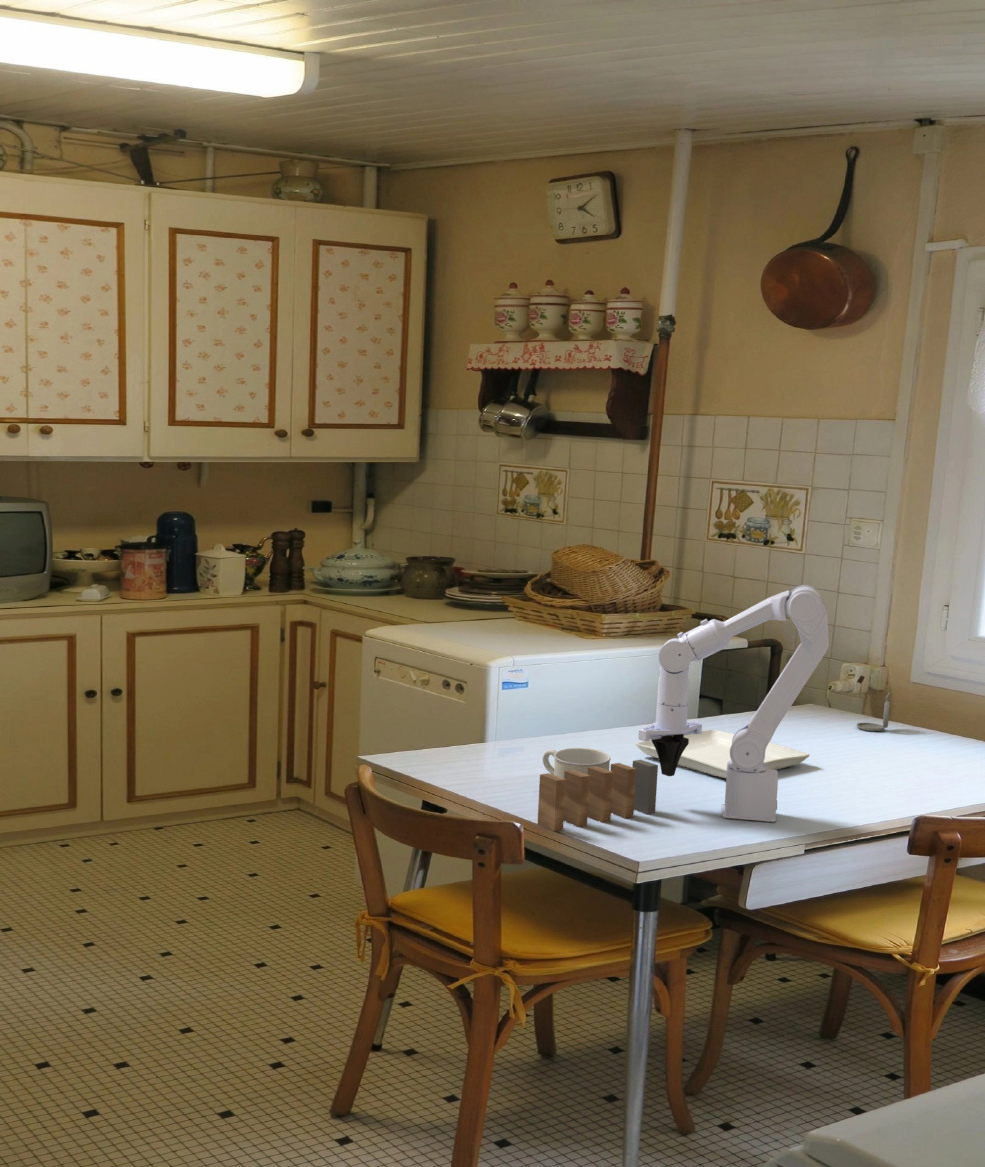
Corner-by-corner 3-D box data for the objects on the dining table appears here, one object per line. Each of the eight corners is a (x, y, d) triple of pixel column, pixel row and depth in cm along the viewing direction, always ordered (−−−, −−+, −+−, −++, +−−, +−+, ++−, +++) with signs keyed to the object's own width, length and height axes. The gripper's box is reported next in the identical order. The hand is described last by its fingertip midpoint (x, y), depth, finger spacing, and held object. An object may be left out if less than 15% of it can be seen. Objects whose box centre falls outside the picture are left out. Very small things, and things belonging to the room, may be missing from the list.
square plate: (632, 758, 276) (633, 741, 275) (712, 743, 293) (713, 727, 293) (731, 787, 255) (732, 768, 255) (811, 769, 273) (812, 751, 273)
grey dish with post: (851, 726, 318) (854, 687, 317) (881, 726, 320) (884, 687, 319) (868, 734, 310) (871, 693, 309) (899, 733, 312) (902, 693, 311)
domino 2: (570, 818, 227) (573, 769, 226) (587, 825, 223) (589, 775, 222) (561, 820, 226) (564, 771, 225) (578, 827, 222) (581, 777, 221)
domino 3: (593, 814, 230) (596, 766, 229) (610, 821, 226) (613, 772, 226) (585, 816, 229) (587, 767, 228) (602, 822, 225) (604, 773, 224)
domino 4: (616, 810, 233) (618, 762, 233) (633, 817, 230) (636, 768, 229) (608, 812, 232) (610, 764, 231) (625, 818, 229) (627, 769, 228)
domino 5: (638, 806, 237) (640, 759, 236) (655, 813, 233) (658, 765, 232) (630, 808, 235) (632, 760, 235) (647, 814, 232) (650, 766, 231)
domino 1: (546, 823, 224) (548, 773, 223) (562, 830, 220) (565, 779, 219) (537, 824, 222) (539, 774, 222) (553, 831, 219) (556, 780, 218)
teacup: (619, 797, 243) (622, 756, 242) (582, 806, 235) (584, 764, 235) (566, 781, 253) (568, 741, 252) (528, 789, 245) (530, 749, 244)
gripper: (684, 696, 243) (680, 765, 245) (628, 702, 235) (624, 774, 236) (711, 703, 238) (707, 774, 239) (655, 709, 229) (650, 783, 230)
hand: (667, 774), depth 237 cm, fingers closed
